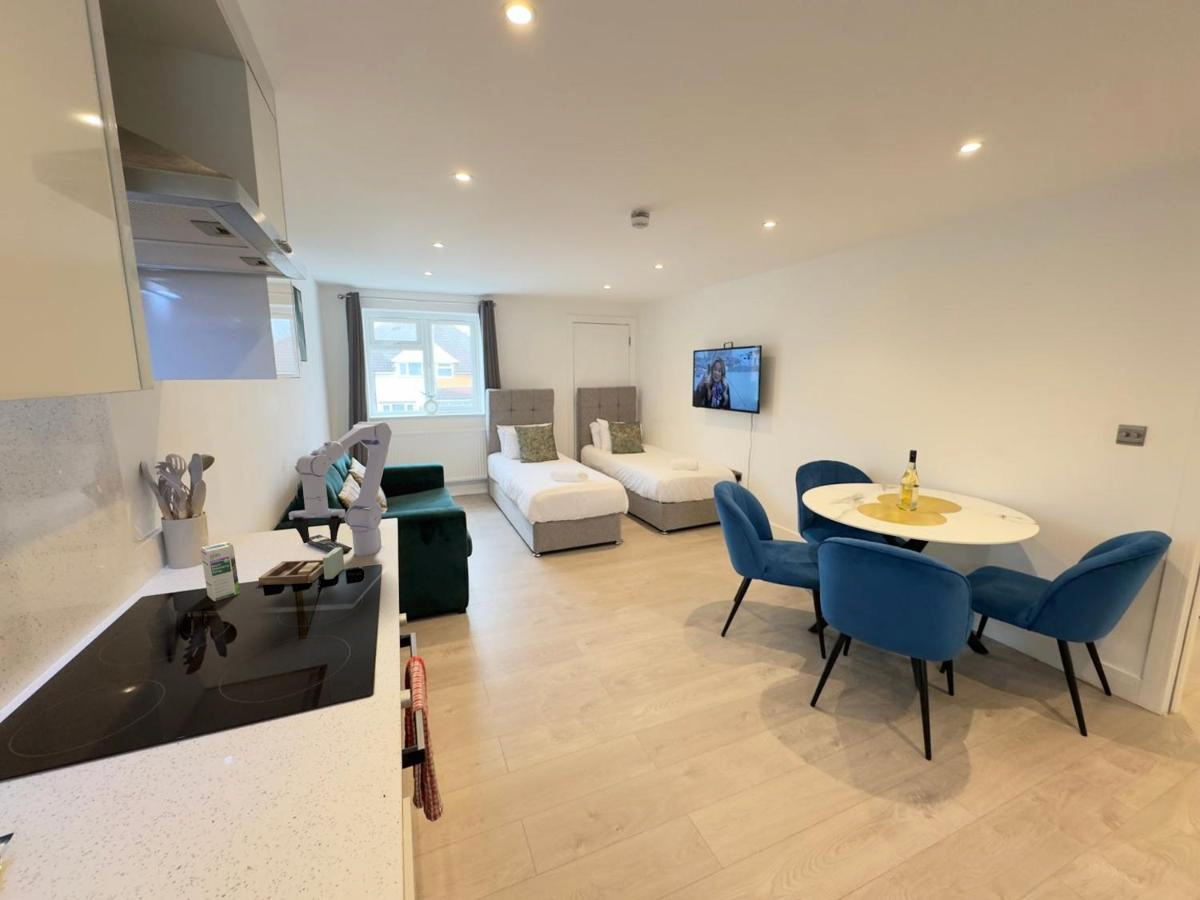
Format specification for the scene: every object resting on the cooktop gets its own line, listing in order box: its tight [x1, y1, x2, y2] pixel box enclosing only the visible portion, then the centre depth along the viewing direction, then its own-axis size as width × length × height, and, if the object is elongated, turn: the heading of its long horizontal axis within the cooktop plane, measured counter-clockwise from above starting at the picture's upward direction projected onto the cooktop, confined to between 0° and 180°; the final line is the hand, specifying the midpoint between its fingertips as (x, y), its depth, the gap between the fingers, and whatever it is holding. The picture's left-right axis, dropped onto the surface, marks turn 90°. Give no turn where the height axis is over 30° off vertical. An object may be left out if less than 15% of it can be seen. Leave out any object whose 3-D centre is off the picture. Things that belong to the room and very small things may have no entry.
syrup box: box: [199, 541, 241, 602], centre depth 125 cm, size 6×6×14 cm
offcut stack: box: [298, 562, 321, 579], centre depth 138 cm, size 7×4×2 cm, turn 5°
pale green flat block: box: [322, 547, 345, 580], centre depth 138 cm, size 8×2×7 cm, turn 6°
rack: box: [258, 559, 324, 586], centre depth 138 cm, size 12×14×3 cm
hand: (320, 541), depth 138 cm, fingers open, 7 cm apart
